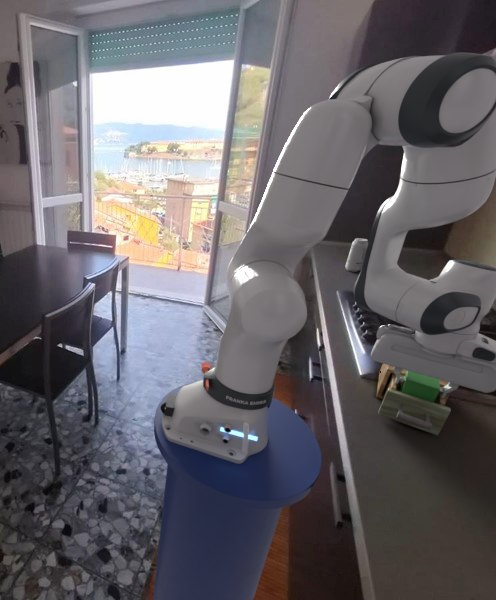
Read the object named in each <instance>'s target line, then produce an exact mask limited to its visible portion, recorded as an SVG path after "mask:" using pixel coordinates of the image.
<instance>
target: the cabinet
mask: <svg viewBox="0 0 496 600" xmlns="http://www.w3.org/2000/svg"><path fill="white" fill-rule="evenodd" d="M381 364H382V365H381V367H380V370H379V374H378V381H377V389H376V396H375V397H376V398H377V399H381V400H383V399H384V393H385V386H386V384H387V381H388V379H389V377H390V374H391V373H394V366H390V365H387V364H383V363H381ZM380 371H381V373H380ZM406 372H407V370H404V369H403V370H402V372H400V374H401V375H402V376H405V374H406ZM394 374H395V373H394ZM439 384H440V387H442V388H443V387H444V386H446V385H448V382H446V381H443V380H439ZM452 392H453V391H451V392H449V393H447V394H446V396H445V404H446V403H447V402H448V400H449V398H450V395H451V394H452Z"/></svg>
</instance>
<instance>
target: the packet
mask: <svg viewBox="0 0 496 600" xmlns="http://www.w3.org/2000/svg"><path fill="white" fill-rule="evenodd" d="M439 391H440V384H439V379H436V378H432V377H429V376H425V375H422V374H418V373H415V372H411V371H408V370H407V372H406V374H405V382H404V385H403V386H400V392H402V393H405V394H408V395H411V396H414V397H418V398H421V399H424V400H427V401H430V402H433V403H434V401H435V399H436V397H437V395H438V393H439Z"/></svg>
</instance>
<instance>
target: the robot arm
mask: <svg viewBox="0 0 496 600" xmlns="http://www.w3.org/2000/svg"><path fill="white" fill-rule="evenodd" d="M377 145H380V146H393V147H402V149H403V156H402V162H401V167H400V174H399V181H398V186H397V189H396V191H395V193H394V195H392V196H390V197H388V198H387V199H386V200H385V201H384V202H383V203H382V204H381V205H380V206H379V209H378V210H377V213H376V215H375V218H374V220H373V224H372V228H371V232H370V235H369V239H368V246H367V249H366V253H365V256H364V259H363V262H362V265H361V269H360V272H359V274H358V276H357V278H356V280H355V282H354V285H353V293H352V294H353V298H354V301H355V303H356V305H357V306H358V307H359V308H361V309H363V310H365V311H368V312H371V313H373V314H377V315H380V316H383V317H385V318H387V319H388V320H390V321H392V322H395V323H398V324H400V325H403V326H399V325H396V324H391V323H389V324H384V325H381V326H379V327H378V328H377V331H376V334H375V337H376V341H375V343H374V345H373V346H372V350H371V352H370V357H371V359H372V361H374V362H377V363H380V364H387V365H390V366H394V373H395V375H396V379H395V384H397V385H401V386H403V385H404V382H405V376H402V375H401V374H400V372H402V370H403V369H404V370H408V371H411V372H415V373H418V374H422V375H425V376H429V377H432V378H436V379H439V380H443V381H446V382H448V385H446V386H444V387H443V388H442V387H440V391H439V393H438V395H437V397H440V398H443V399H444V398H445V396H446V394H447V393H449V392H451V391H452V392H454V391H456V390H458V388H459V387H460V386H461V387H464V388H468V389H471V390H473V391H477V392H481V393H485V394H489V393H492V392H493V393H494V392H495V391H496V340H495V339H492V338H491V337H488V336H486V335H485V334H481V333H479V332H480V329H481V322H482V320H483V319H484V318H485V317H486V315H488V313H489V312H490V310H491V309H492V306H493V305H494V302H495V300H496V267H495V266H492V265H487V264H484V263H480V262H476V261H471V260H466V259H460V258H458V259H457V258H456V259H449V260H448V261H447V263H446V264H445V266H444V267H443V269H442V270H441V272H440V274H439V275H438V276H436V277H434V278H431V279H427V278H424V277H421V276H418V275H414V274H412V273H408V272H406V271H405V270H403V269H402V268H401V267H400V266H399V265H398V261H399V258H400V255H401V252H402V249H403V245H404V243H405V240H406V237H407V234H408V233H409V231H413V230H424V229H431V228H436V227H441V226H444V225H449V224H452V223H455V222H458V221H461V220H462V219H464V218H466V217H468V216H470V215H472V214H474V213H475V212H476V211H478V210H479V209H480V208H481V207H482V206H484V204H485V203H486V202H487V201H488V199H489V197H490V195H491V193H492V191H493V189H494V186H495V182H496V60H495V59H494V58H493V57H491V56H489V55H486V54H481V53H476V52H475V53H474V52H463V51H462V52H459V51H458V52H453V53H448V54H446V55H445V54H444V55H440V54H439V55H423V56H421V55H411V56H406V57H400V58H396V59H392V60H388V61H385V62H376V63H371V64H368V65H366V66H363V67H361V68H358V69H357V70H354V71H353V72H352V73H350V74H348V75H347V76H346V77H344V79H343V80H341V81H340V82H339V84H338V85H337V86H335V88H334V90H333V91H332V92H331V94H330V96H329V97H328V99H325V100H323V101H320V102H316V103H315V104H313V105H311V106H310V107H309V108H308V109H307V110H306V111H304V112H303V114H302V115H301V117H300V118H299V120H298V121H297V123H296V125H295V126H294V128H293V130H292V132H291V133H290V136H289V137H288V139H287V140H286V142H285V144H284V147H283V149H282V151H281V153H280V155H279V157H278V159H277V161H276V164H275V166H274V168H273V172H272V174H271V177H270V178H269V181H268V183H267V186H266V189H265V191H264V194H263V197H262V198H261V202H260V203H259V206H258V208H257V212H256V213H255V216H254V218H253V220H252V222H251V224H250V226H249V228H248V229H247V231H246V233H245V234H244V236H243V238H242V239H241V242H240V243H239V245H238V247H237V249H236V251H235V253H234V255H233V256H232V257H231V259H230V261H229V262H228V265H227V268H226V273H225V286H226V289H227V292H228V299H229V312H228V316H227V321H226V325H225V328H224V330H223V332H222V335H221V336H220V338H219V343H218V350H217V357H216V362H215V365H214V367H213V368H212V365H211V363H210V362H207V361H204V362H203V363H201V372H202V374H203V379H201V380H198V381H194V382H195V383H192V382H191V383H192V384H189V385H186V386H183V387H182V388H181V389H180V390H179V392H178V394H177V396H176V395H171V394H168V393H167V394H168V396H167V402H165V403H163V404H162V405H161V411H162V412H163V414H162V429H163V432H164V435H165V436H166V438H167V439H168V440H169V441H170V442H173V443H176V444H179V445H182V446H185V447H188V448H191V449H194V450H197V451H200V452H203V453H206V454H209V455H212V456H215V457H218V458H221V459H224V460H227V461H230V462H234V463H237V464H241V463H243V462H244V461H245V460H246V459H247V458H248V456H250V455H253V454H256V453H258V452H260V451H262V450H263V449H264V448H265V447H266V445H267V443H268V433H267V412H268V408H269V407H270V404H271V402H272V399H273V398H274V394H275V387H276V384H275V383H274V381H275V379H276V378H275V377H276V373H277V370H278V365H279V362H280V357H281V355H282V352H283V350H284V348H285V346H286V344H287V342H288V341H289V339H291V338H293V337H294V336H296V335H297V334H298V333H299V332H300V331H301V330H302V329H303V327H304V326H305V324H306V322H307V318H308V309H307V307H308V306H307V301H306V296H305V293H304V290H303V289H302V287H301V286H300V283H298V281H297V279H295V277H294V276H295V272H296V269H297V267H298V266H299V264H300V263H301V262H302V260H303V259H304V258H305V256H306V255H307V254H308V253H309V252H310V250H311V249H312V248H313V247H314V246H315V245H317V244H319V243H320V242H322V241H323V240H324V238H325V237H326V236H327V234H328V233H329V230H330V228H331V226H332V224H333V222H334V220H335V218H336V216H337V214H338V212H339V210H340V208H341V206H342V204H343V202H344V200H345V199H346V196H347V194H348V192H349V189H350V188H351V186H352V184H353V182H354V180H355V178H356V176H357V173H358V170H359V169H360V166H361V163H362V160H363V159H364V158H365V156H366V155H367V154H368V153H369V152H370V151H371V150H372V149H373V148H374V147H376V146H377ZM452 392H451V393H452ZM167 429H168V430H167ZM231 455H232V456H231Z"/></svg>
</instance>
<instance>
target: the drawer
mask: <svg viewBox="0 0 496 600" xmlns="http://www.w3.org/2000/svg"><path fill="white" fill-rule="evenodd" d="M395 379H396V375H395V374H394V373H391V374H390V377H389V379H388V381H387V384H386V386H385V393H384V399H382V401H381V404H380V406H379V409H378V411H377V415H379V416H382V417H384V418H387V419H391V420H394V421H396V422H398V423H402V424H405V425H407V426H410V427H413V428H416V429H418V430H422V431H424V432H426V433H429V434H432V435H435V436H439V434H440V432H441V430H442V429H443V427H444V426H445V423H446V421H447V419H448V417H449V415H450V413H451V409H452V408H451V407H448V406H446V403H445V398H444V399H443V398H440V397H436V399H435V401H434V403H433V402H430V401H427V400H424V399H421V398H418V397H414V396H411V395H408V394H405V393H402V392H400V386H401V385H397V384H395Z"/></svg>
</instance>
